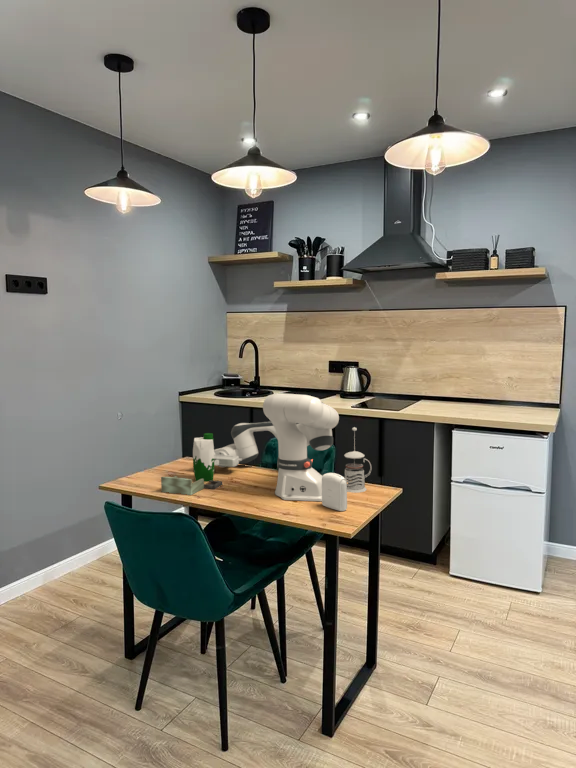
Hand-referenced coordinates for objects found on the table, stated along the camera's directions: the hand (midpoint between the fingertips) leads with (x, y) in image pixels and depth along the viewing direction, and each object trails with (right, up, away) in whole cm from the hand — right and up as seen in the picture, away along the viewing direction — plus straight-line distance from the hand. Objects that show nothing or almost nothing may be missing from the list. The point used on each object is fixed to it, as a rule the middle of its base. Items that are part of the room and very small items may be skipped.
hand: (209, 463), depth 233 cm
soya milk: (-1, -6, -5) cm, 8 cm away
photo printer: (+51, -9, -45) cm, 69 cm away
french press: (+62, -7, -21) cm, 66 cm away
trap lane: (-6, -7, -18) cm, 20 cm away
